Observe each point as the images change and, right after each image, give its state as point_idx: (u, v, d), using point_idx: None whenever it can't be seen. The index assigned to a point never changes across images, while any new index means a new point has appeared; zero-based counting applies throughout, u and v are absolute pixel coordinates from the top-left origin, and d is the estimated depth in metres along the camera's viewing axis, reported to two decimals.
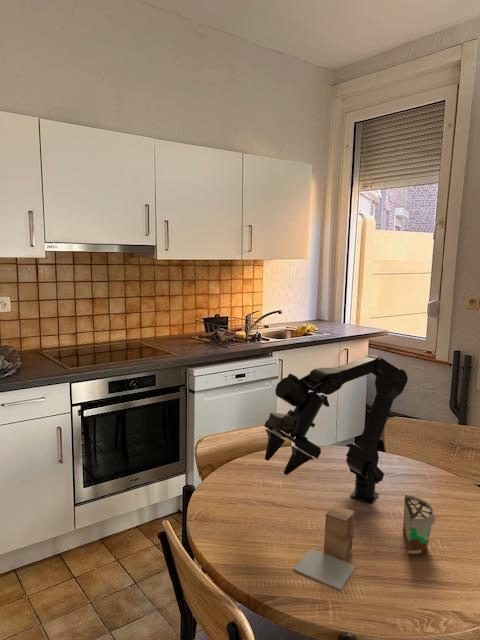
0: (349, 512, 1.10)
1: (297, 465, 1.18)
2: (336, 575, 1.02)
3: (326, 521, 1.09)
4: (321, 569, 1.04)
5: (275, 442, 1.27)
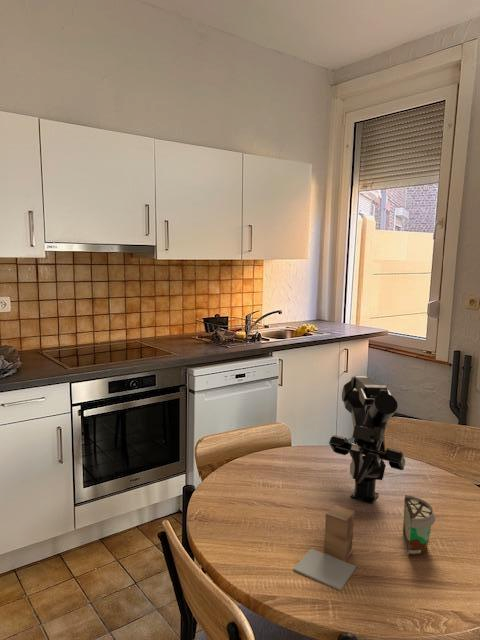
0: (349, 512, 1.10)
1: (366, 473, 1.20)
2: (336, 575, 1.02)
3: (326, 521, 1.09)
4: (321, 569, 1.04)
5: (360, 463, 1.21)
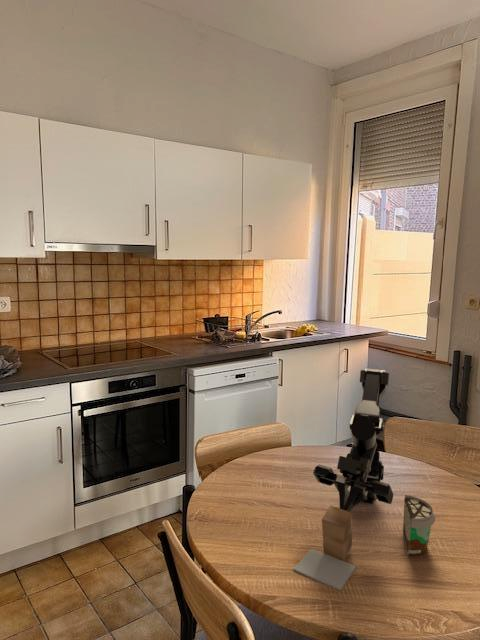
0: (346, 514, 1.08)
1: (352, 506, 1.12)
2: (336, 575, 1.02)
3: (323, 525, 1.08)
4: (321, 569, 1.04)
5: (346, 496, 1.14)
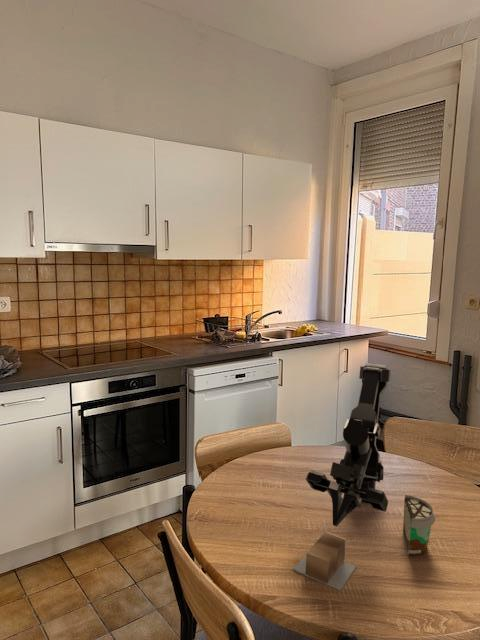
0: (324, 565, 1.00)
1: (345, 514, 1.09)
2: (336, 575, 1.02)
3: None
4: None
5: (339, 503, 1.10)
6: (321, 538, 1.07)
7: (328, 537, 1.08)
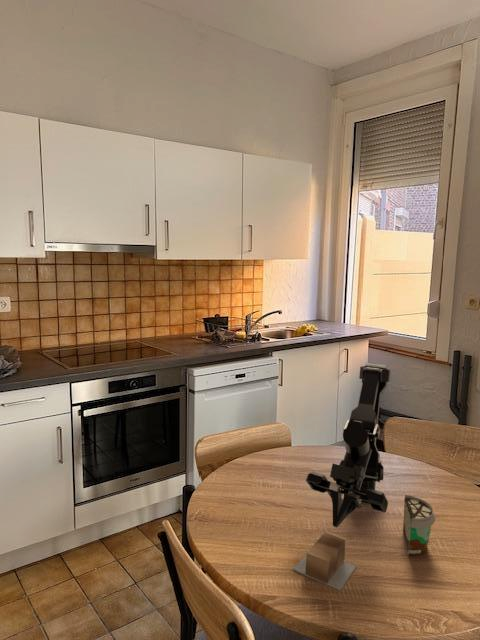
0: (324, 565, 1.00)
1: (345, 515, 1.09)
2: (336, 575, 1.02)
3: None
4: None
5: (339, 504, 1.11)
6: (321, 538, 1.07)
7: (328, 537, 1.08)
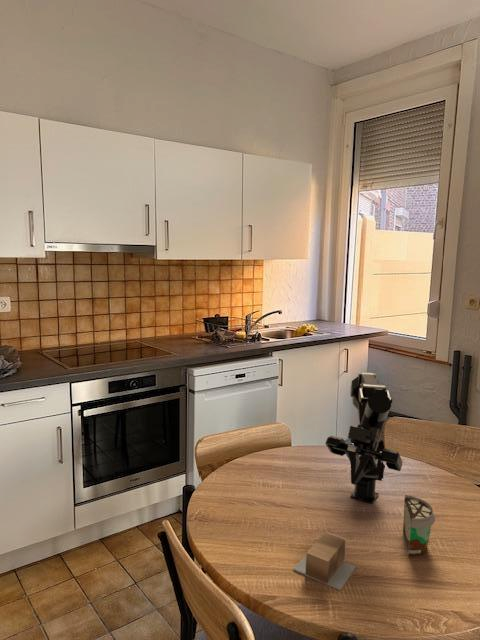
0: (324, 565, 1.00)
1: (363, 474, 1.18)
2: (336, 575, 1.02)
3: None
4: None
5: (357, 464, 1.19)
6: (321, 538, 1.07)
7: (328, 537, 1.08)
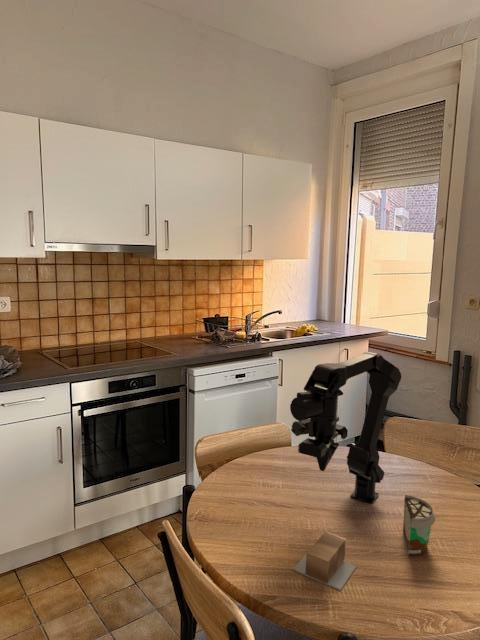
0: (324, 565, 1.00)
1: (324, 460, 1.23)
2: (336, 575, 1.02)
3: None
4: None
5: None
6: (321, 538, 1.07)
7: (328, 537, 1.08)
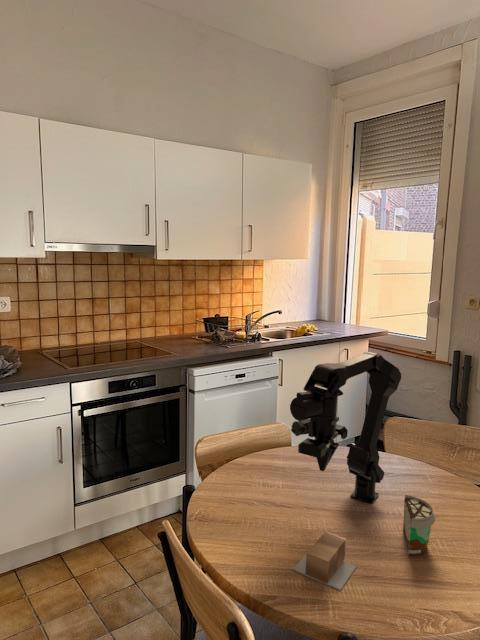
0: (324, 565, 1.00)
1: (324, 460, 1.23)
2: (336, 575, 1.02)
3: None
4: None
5: None
6: (321, 538, 1.07)
7: (328, 537, 1.08)
